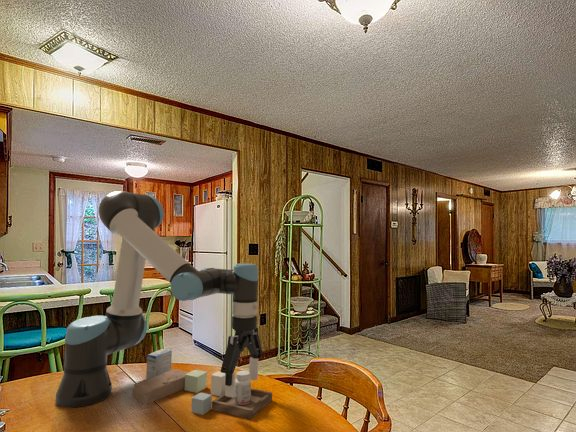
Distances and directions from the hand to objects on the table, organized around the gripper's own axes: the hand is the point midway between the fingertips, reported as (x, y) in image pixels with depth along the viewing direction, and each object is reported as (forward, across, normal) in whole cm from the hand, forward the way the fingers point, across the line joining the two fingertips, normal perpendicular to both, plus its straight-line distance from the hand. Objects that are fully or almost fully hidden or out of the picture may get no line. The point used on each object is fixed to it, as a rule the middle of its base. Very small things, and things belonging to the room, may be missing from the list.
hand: (242, 387), depth 108 cm
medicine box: (+6, +6, +38) cm, 38 cm away
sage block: (+5, +4, +20) cm, 21 cm away
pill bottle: (+4, 0, 0) cm, 4 cm away
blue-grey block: (+5, -8, +9) cm, 13 cm away
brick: (+6, -3, +28) cm, 29 cm away
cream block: (+5, +4, +11) cm, 12 cm away
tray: (+5, 0, 0) cm, 5 cm away
